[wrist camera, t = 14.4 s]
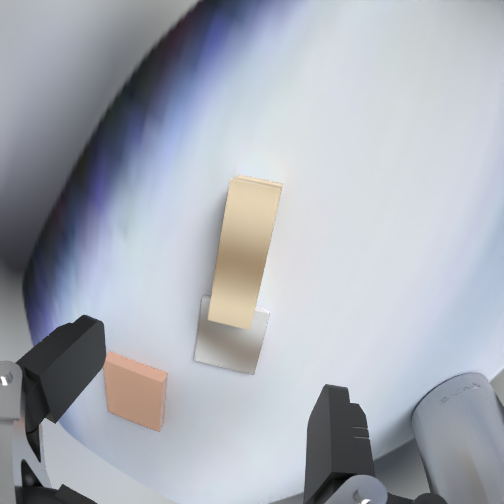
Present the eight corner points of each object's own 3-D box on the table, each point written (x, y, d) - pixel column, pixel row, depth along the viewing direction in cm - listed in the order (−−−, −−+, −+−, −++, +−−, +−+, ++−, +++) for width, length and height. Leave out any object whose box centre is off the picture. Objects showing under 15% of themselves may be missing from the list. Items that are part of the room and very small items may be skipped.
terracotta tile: (103, 359, 25) (108, 411, 28) (162, 382, 25) (159, 431, 27) (111, 348, 27) (114, 401, 29) (169, 370, 26) (164, 420, 29)
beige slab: (223, 171, 20) (211, 175, 17) (299, 187, 20) (300, 194, 17) (196, 355, 25) (185, 380, 22) (254, 370, 25) (249, 396, 22)
